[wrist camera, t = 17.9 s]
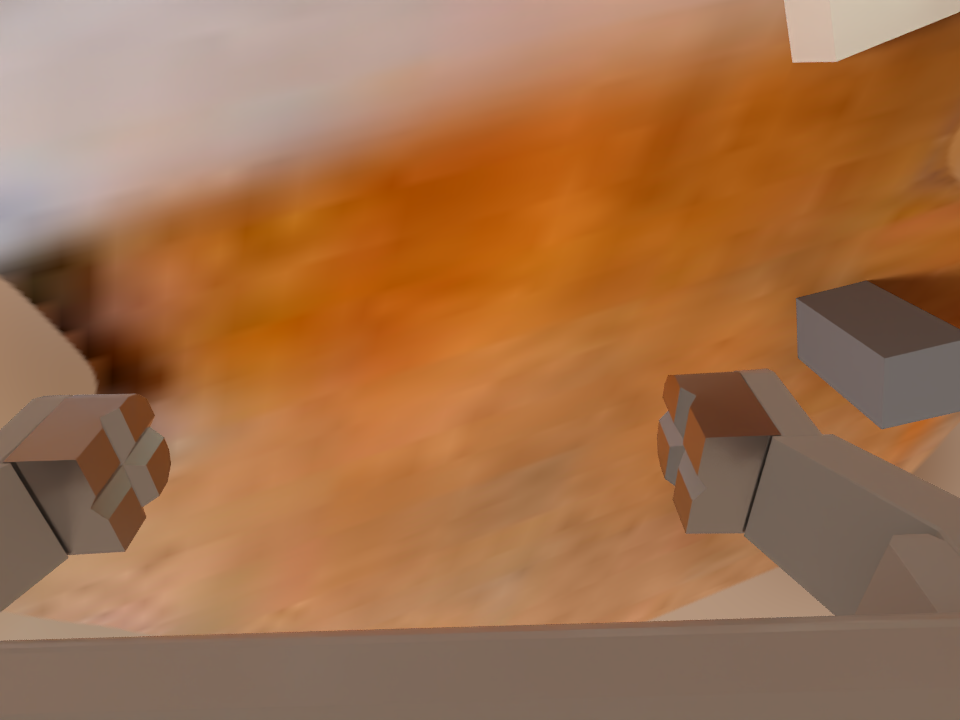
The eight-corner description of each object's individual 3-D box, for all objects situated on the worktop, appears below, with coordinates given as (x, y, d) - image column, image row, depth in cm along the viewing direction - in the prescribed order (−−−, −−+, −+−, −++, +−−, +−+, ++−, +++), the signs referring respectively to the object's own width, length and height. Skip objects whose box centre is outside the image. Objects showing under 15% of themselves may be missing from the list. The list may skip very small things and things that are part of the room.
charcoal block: (796, 298, 43) (884, 358, 35) (866, 280, 43) (974, 336, 34) (798, 357, 46) (881, 429, 37) (864, 341, 45) (966, 409, 36)
